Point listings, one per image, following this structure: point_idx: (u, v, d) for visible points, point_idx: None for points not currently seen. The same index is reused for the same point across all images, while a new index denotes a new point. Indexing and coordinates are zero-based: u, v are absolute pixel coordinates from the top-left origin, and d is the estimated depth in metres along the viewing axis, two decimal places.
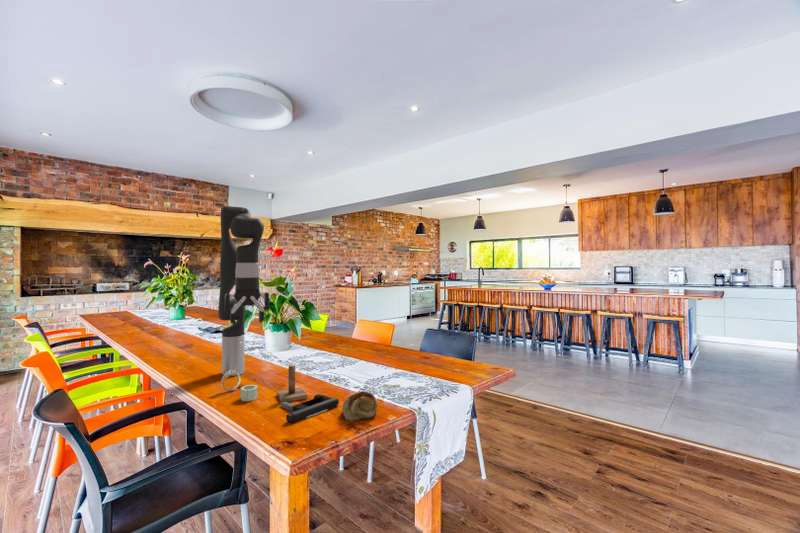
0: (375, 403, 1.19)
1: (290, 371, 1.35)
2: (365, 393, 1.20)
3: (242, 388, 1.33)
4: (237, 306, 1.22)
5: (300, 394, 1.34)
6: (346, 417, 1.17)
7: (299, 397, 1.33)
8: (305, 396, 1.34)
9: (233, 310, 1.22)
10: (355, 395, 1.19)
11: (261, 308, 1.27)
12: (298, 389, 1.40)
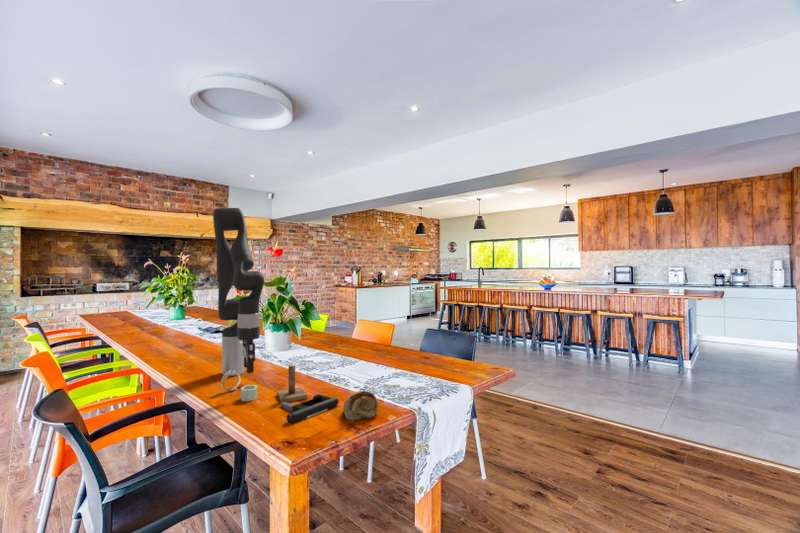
0: (376, 403, 1.20)
1: (290, 371, 1.35)
2: (366, 393, 1.20)
3: (242, 388, 1.33)
4: None
5: (300, 394, 1.34)
6: (347, 417, 1.17)
7: (299, 397, 1.33)
8: (305, 396, 1.34)
9: None
10: (356, 395, 1.19)
11: None
12: (298, 389, 1.40)
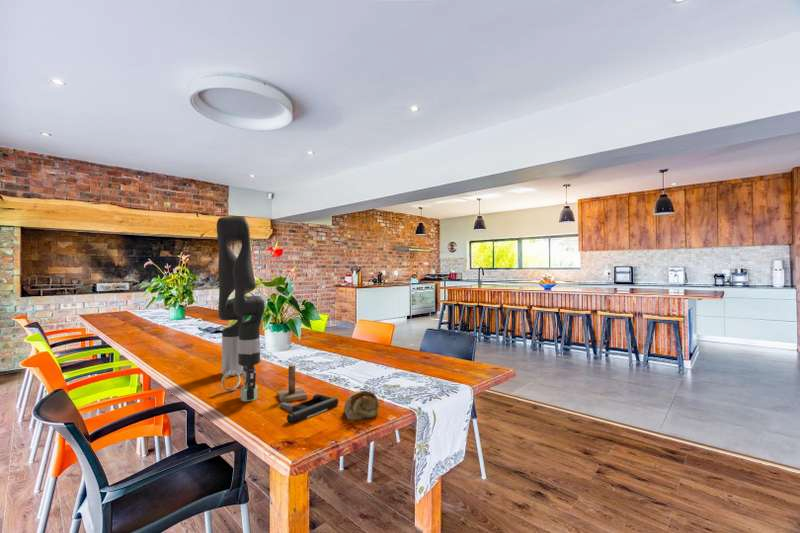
0: (377, 403, 1.20)
1: (290, 371, 1.35)
2: (367, 393, 1.20)
3: (242, 388, 1.33)
4: None
5: (300, 394, 1.34)
6: (348, 417, 1.17)
7: (299, 397, 1.33)
8: (305, 396, 1.34)
9: None
10: (357, 395, 1.19)
11: None
12: (298, 389, 1.40)
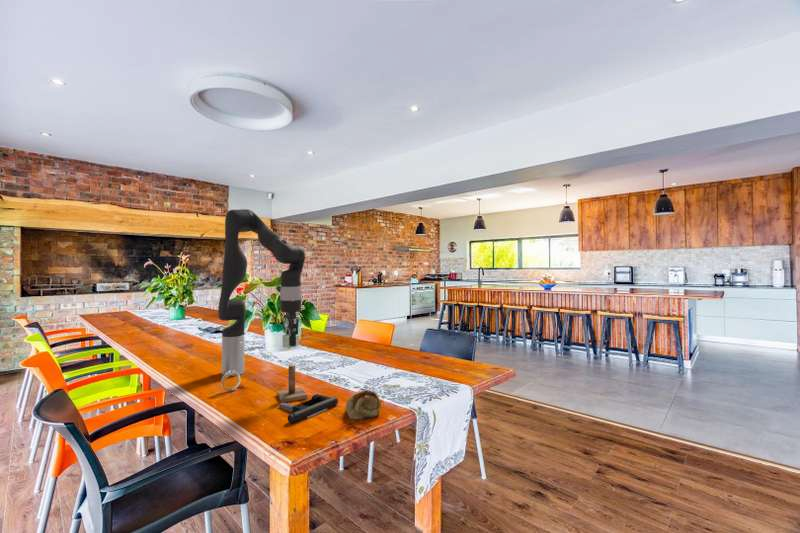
0: (379, 402, 1.20)
1: (290, 371, 1.35)
2: (369, 392, 1.21)
3: (284, 335, 1.34)
4: None
5: (300, 394, 1.34)
6: (350, 416, 1.17)
7: (299, 397, 1.33)
8: (305, 396, 1.34)
9: None
10: (359, 394, 1.20)
11: None
12: (298, 389, 1.40)
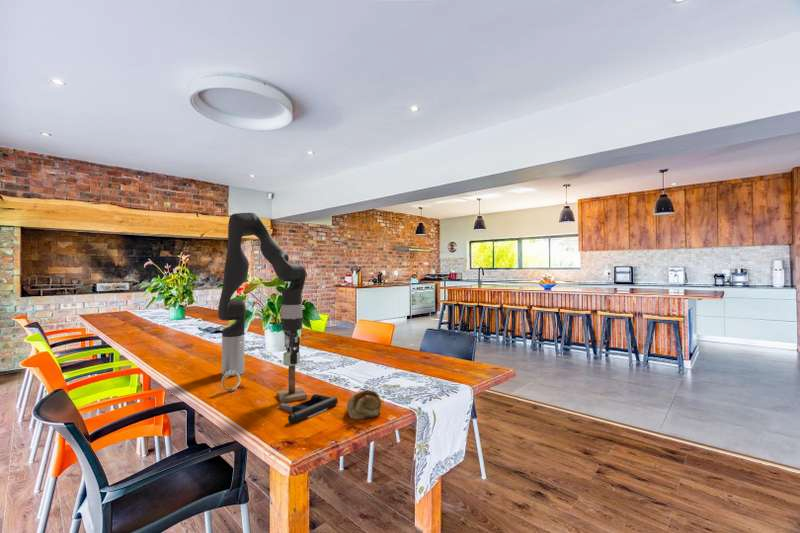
0: (379, 402, 1.21)
1: (290, 371, 1.35)
2: (370, 392, 1.21)
3: (285, 353, 1.35)
4: None
5: (300, 394, 1.34)
6: (351, 416, 1.17)
7: (299, 397, 1.33)
8: (305, 396, 1.34)
9: None
10: (360, 394, 1.20)
11: None
12: (298, 389, 1.40)
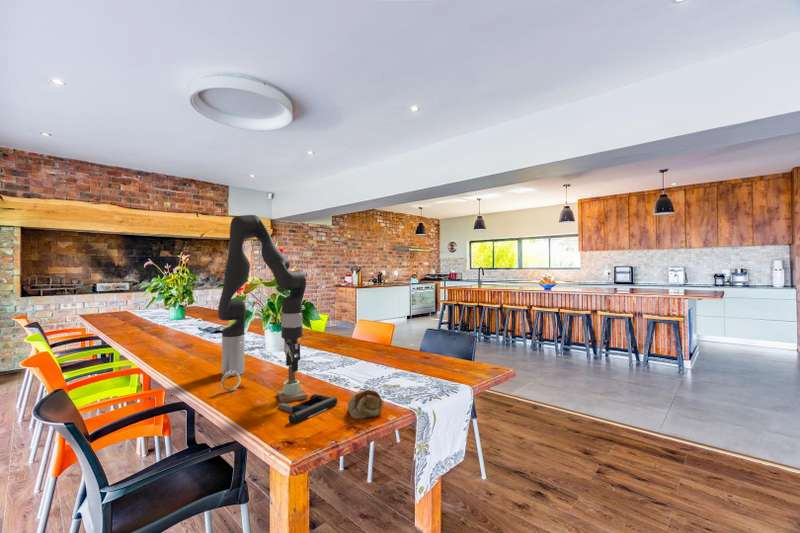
0: (381, 401, 1.21)
1: (290, 371, 1.35)
2: (371, 392, 1.21)
3: (285, 383, 1.35)
4: None
5: (300, 394, 1.34)
6: (352, 416, 1.18)
7: (299, 397, 1.33)
8: (305, 396, 1.34)
9: None
10: (361, 394, 1.20)
11: None
12: None
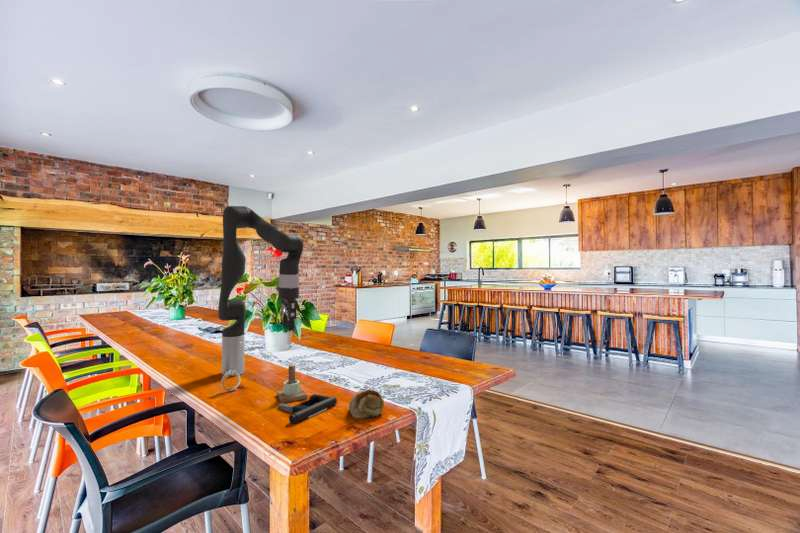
0: (382, 401, 1.21)
1: (290, 371, 1.35)
2: (372, 391, 1.21)
3: (285, 383, 1.35)
4: None
5: (300, 394, 1.34)
6: (353, 415, 1.18)
7: (299, 397, 1.33)
8: (305, 396, 1.34)
9: None
10: (362, 393, 1.20)
11: None
12: None
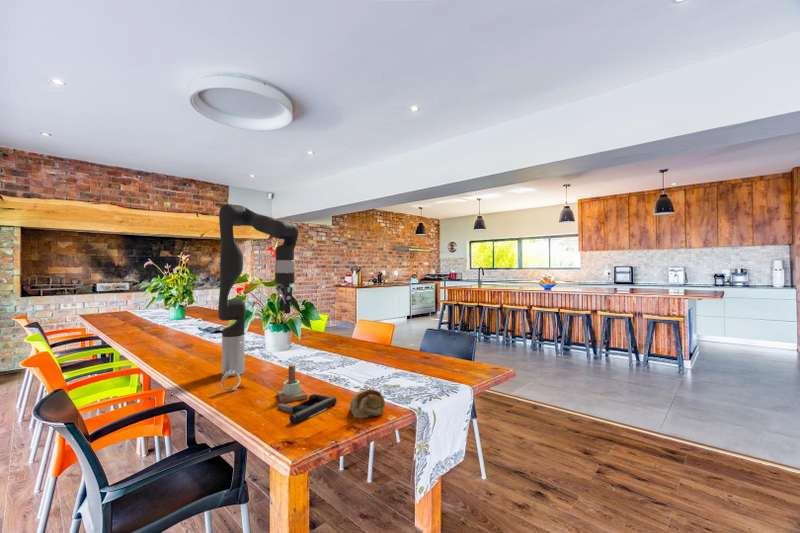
0: (383, 401, 1.21)
1: (290, 371, 1.35)
2: (373, 391, 1.21)
3: (285, 383, 1.35)
4: None
5: (300, 394, 1.34)
6: (355, 415, 1.18)
7: (299, 397, 1.33)
8: (305, 396, 1.34)
9: None
10: (363, 393, 1.21)
11: None
12: None
